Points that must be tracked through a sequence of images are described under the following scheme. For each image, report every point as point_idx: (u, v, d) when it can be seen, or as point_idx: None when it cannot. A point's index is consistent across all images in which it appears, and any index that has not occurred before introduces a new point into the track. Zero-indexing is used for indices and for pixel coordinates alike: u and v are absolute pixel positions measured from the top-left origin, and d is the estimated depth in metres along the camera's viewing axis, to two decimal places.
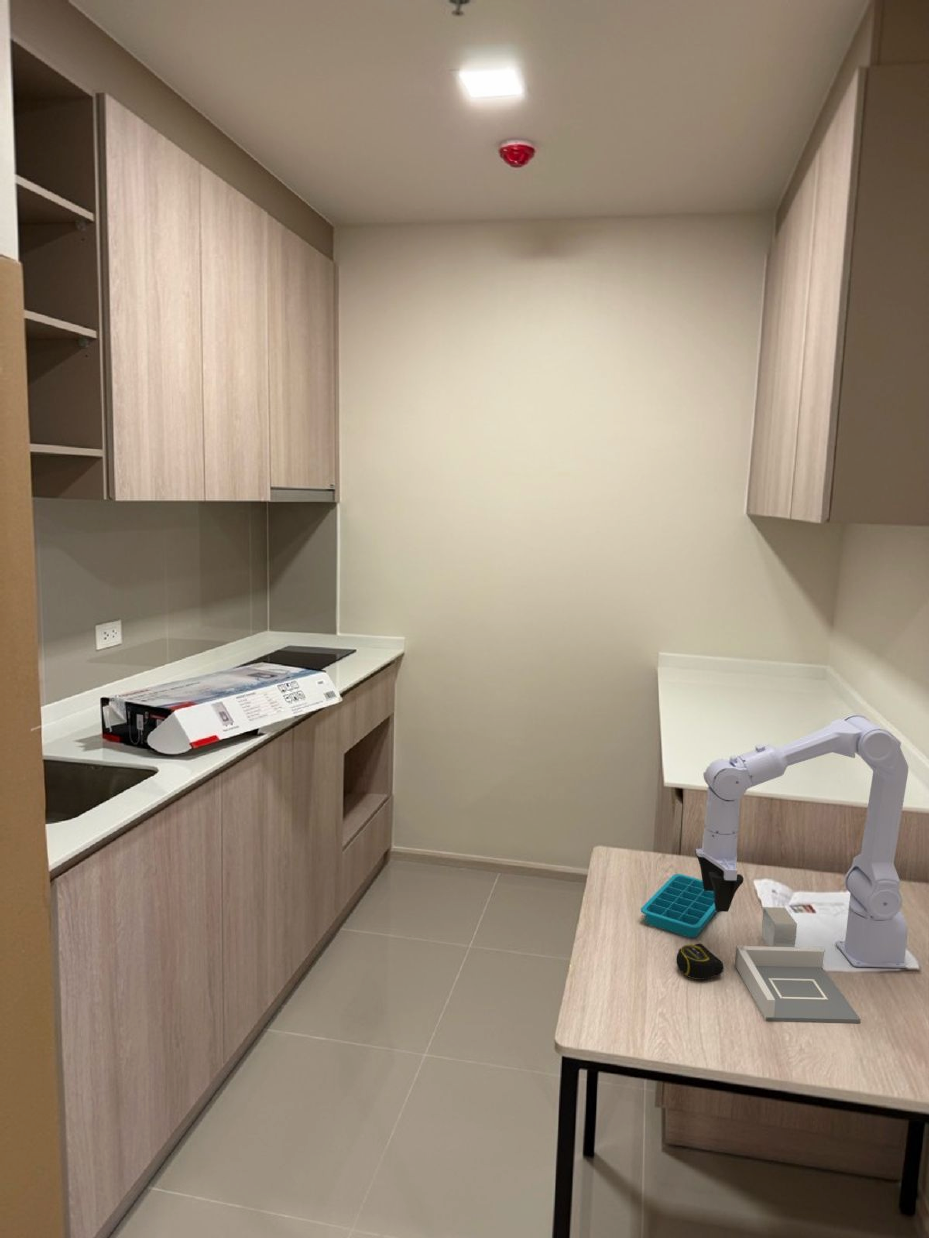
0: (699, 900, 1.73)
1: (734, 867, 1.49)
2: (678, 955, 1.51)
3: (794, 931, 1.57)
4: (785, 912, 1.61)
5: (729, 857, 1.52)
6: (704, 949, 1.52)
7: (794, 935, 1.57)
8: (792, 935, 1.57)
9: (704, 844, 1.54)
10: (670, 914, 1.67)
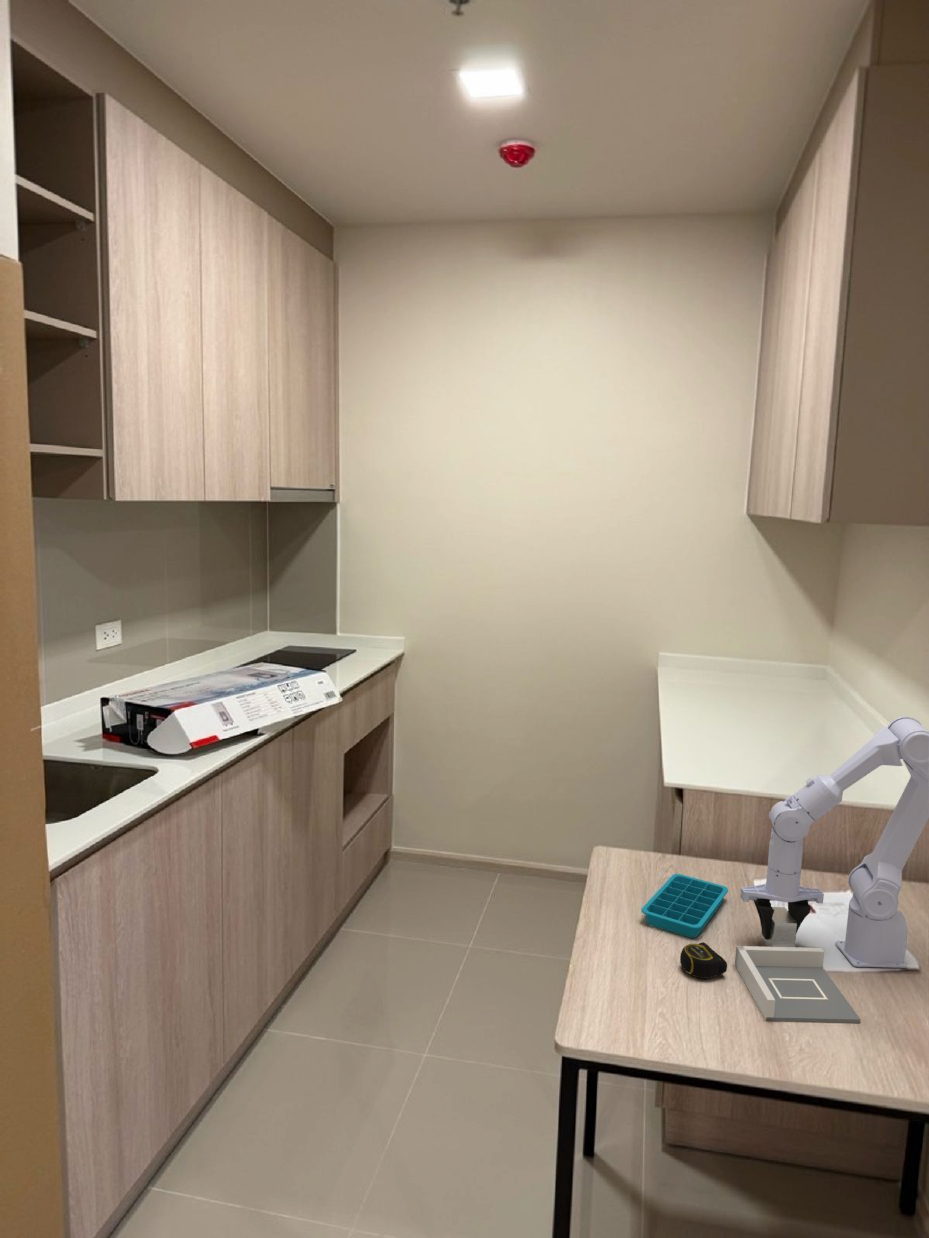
0: (699, 900, 1.73)
1: None
2: (681, 954, 1.51)
3: (794, 931, 1.57)
4: (785, 912, 1.61)
5: (769, 891, 1.58)
6: (708, 948, 1.52)
7: (794, 935, 1.57)
8: (792, 935, 1.57)
9: None
10: (671, 915, 1.67)
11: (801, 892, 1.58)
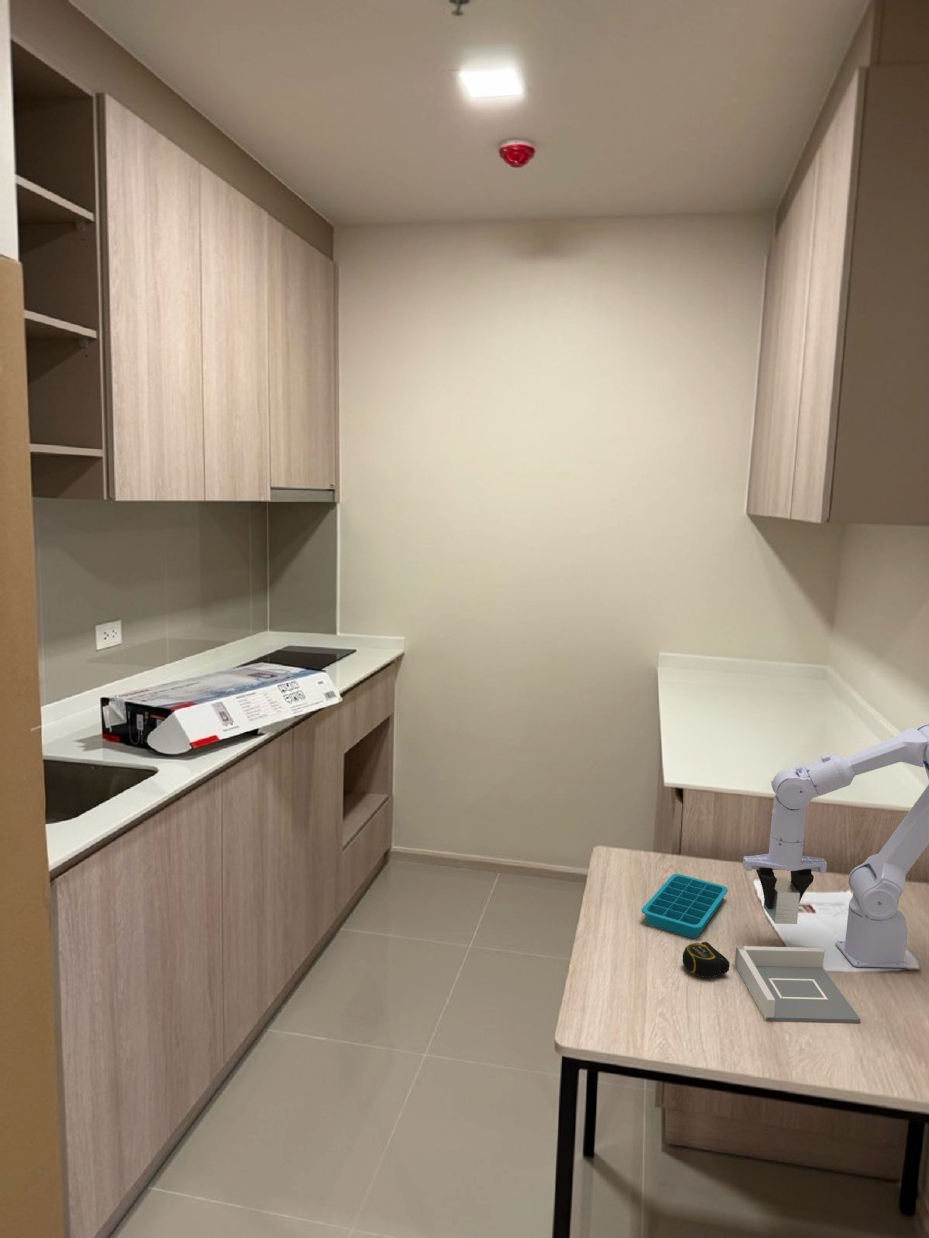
0: (699, 900, 1.73)
1: None
2: (684, 954, 1.51)
3: (797, 900, 1.56)
4: (788, 882, 1.60)
5: (772, 860, 1.57)
6: (710, 947, 1.52)
7: (797, 904, 1.56)
8: (795, 904, 1.56)
9: None
10: (671, 915, 1.67)
11: (804, 861, 1.58)
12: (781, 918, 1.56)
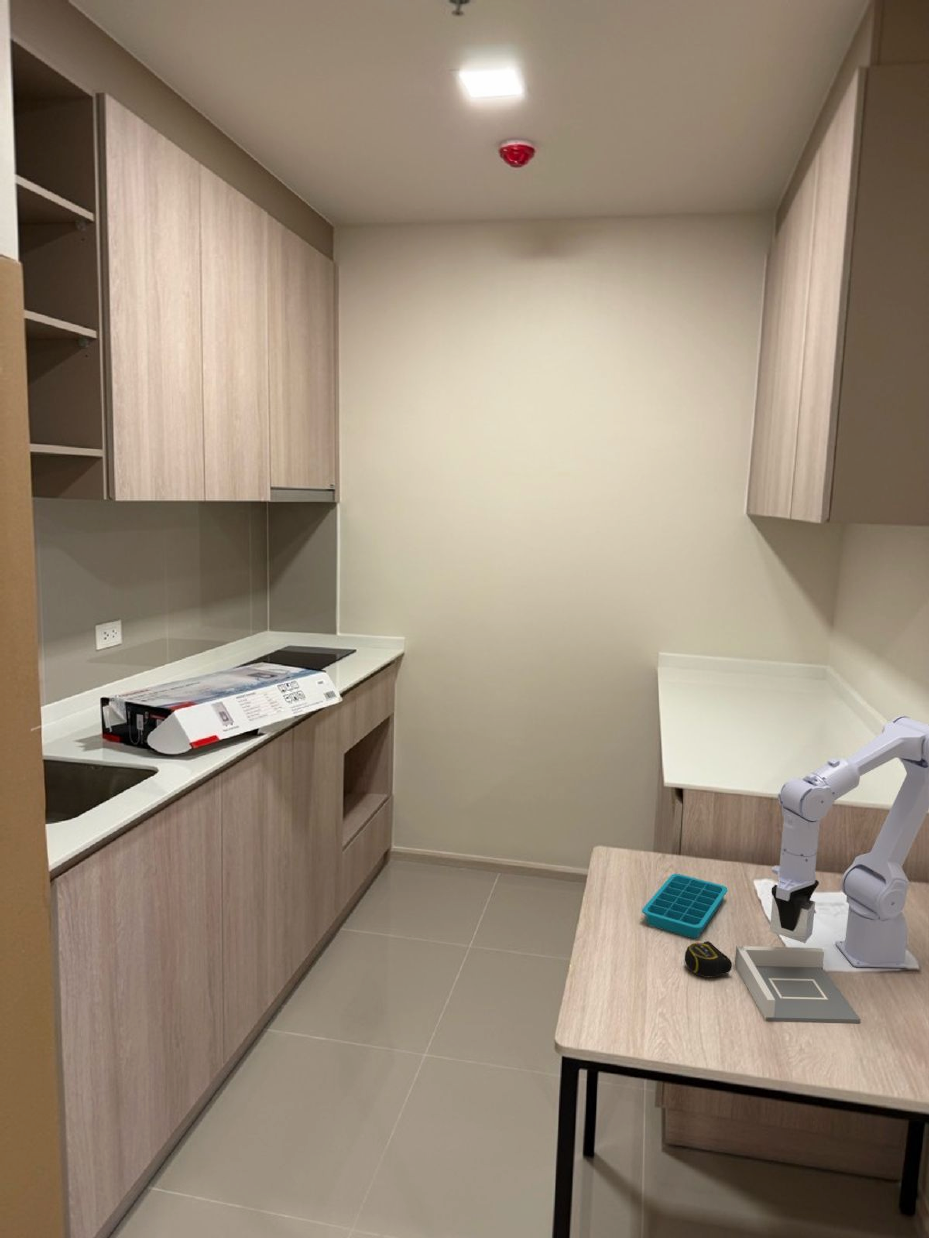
0: (699, 900, 1.73)
1: (790, 888, 1.44)
2: (686, 953, 1.51)
3: None
4: None
5: (797, 879, 1.47)
6: (712, 947, 1.53)
7: (813, 914, 1.50)
8: (813, 915, 1.50)
9: None
10: (672, 915, 1.67)
11: None
12: (807, 935, 1.48)
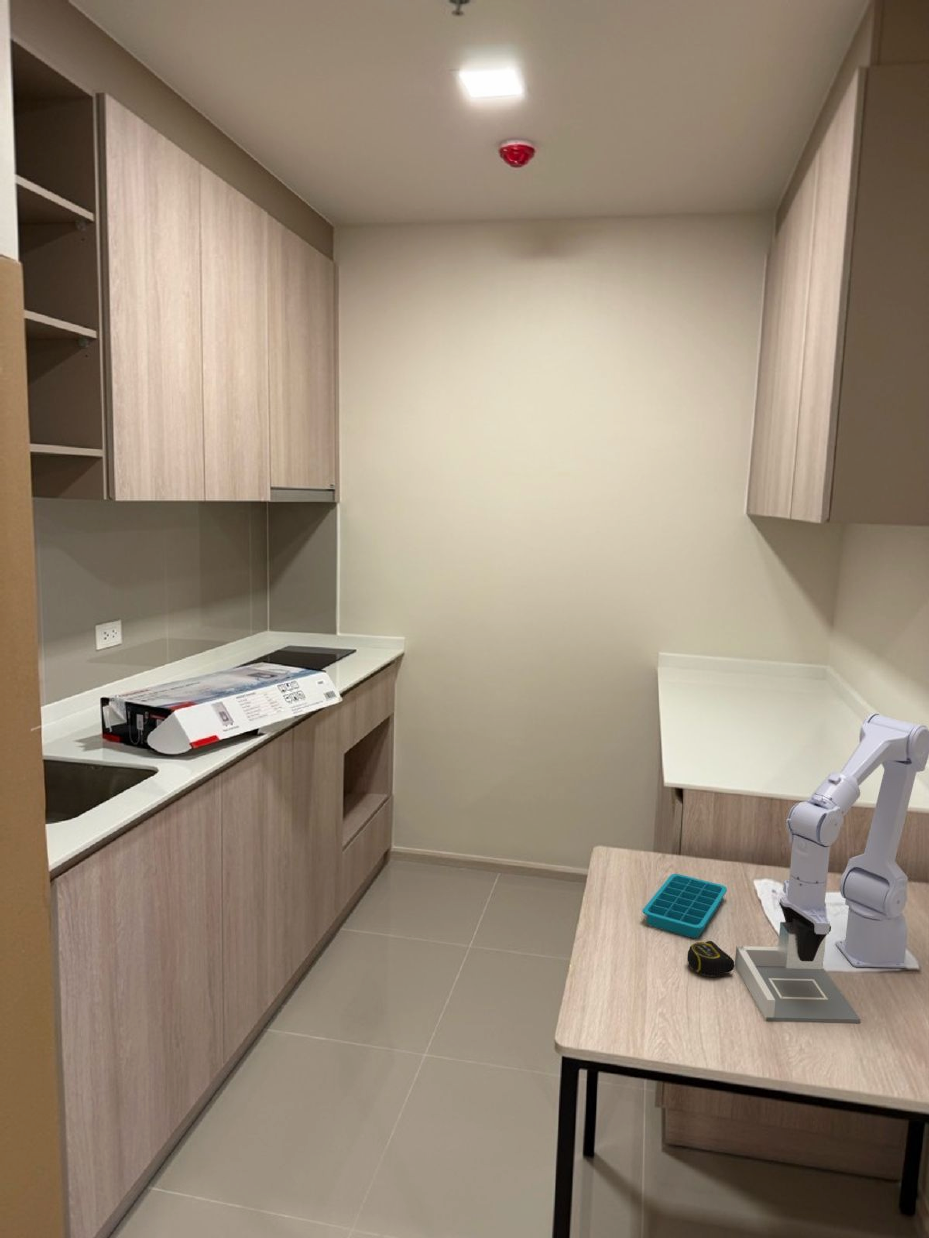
0: (698, 900, 1.74)
1: (825, 919, 1.37)
2: (689, 953, 1.52)
3: None
4: (792, 923, 1.45)
5: (818, 907, 1.40)
6: (715, 946, 1.53)
7: None
8: None
9: (790, 893, 1.42)
10: (672, 915, 1.67)
11: None
12: None
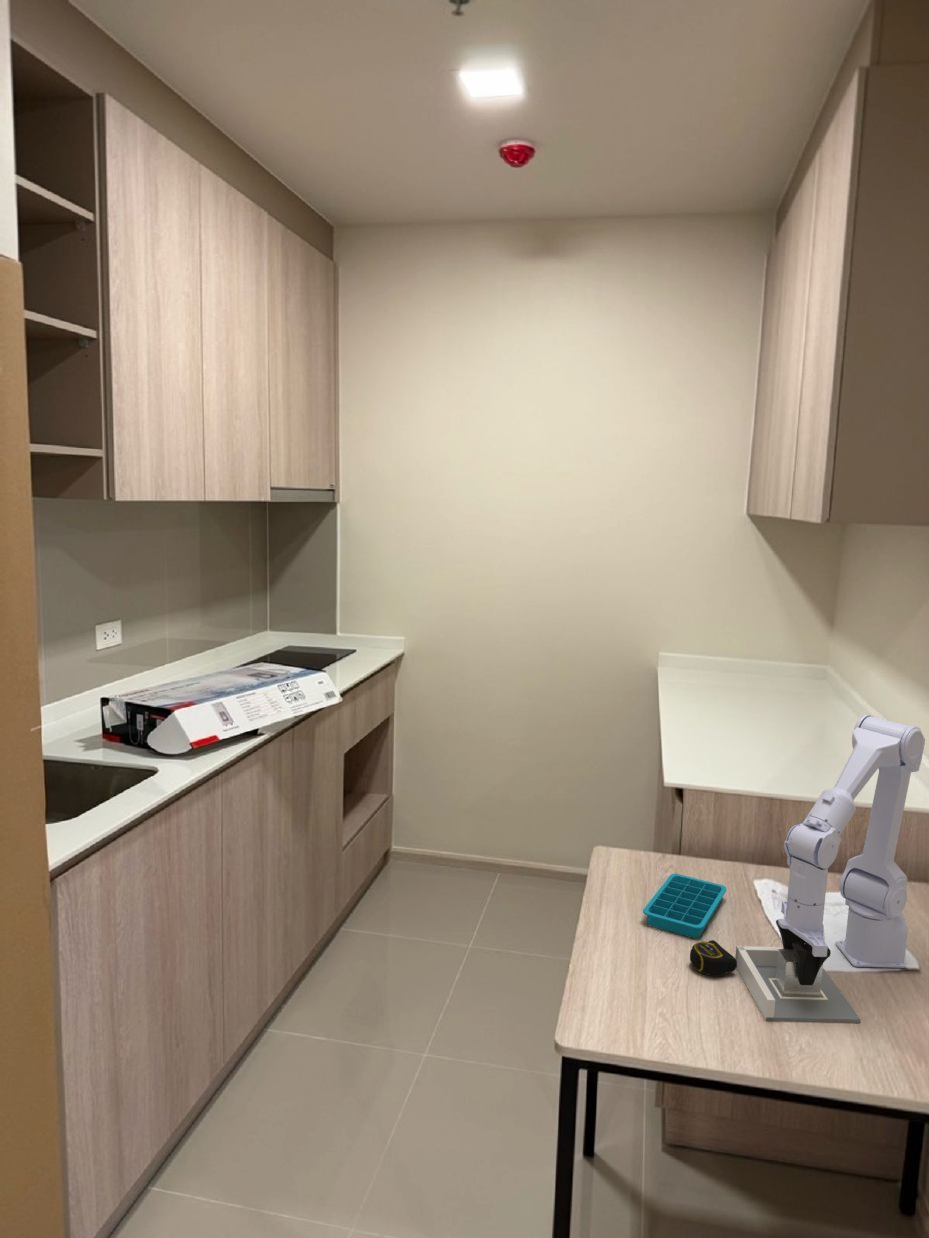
0: (698, 900, 1.74)
1: (823, 942, 1.38)
2: (691, 952, 1.52)
3: None
4: (790, 951, 1.46)
5: (816, 929, 1.41)
6: (717, 946, 1.53)
7: None
8: None
9: (788, 915, 1.43)
10: (672, 915, 1.67)
11: None
12: None
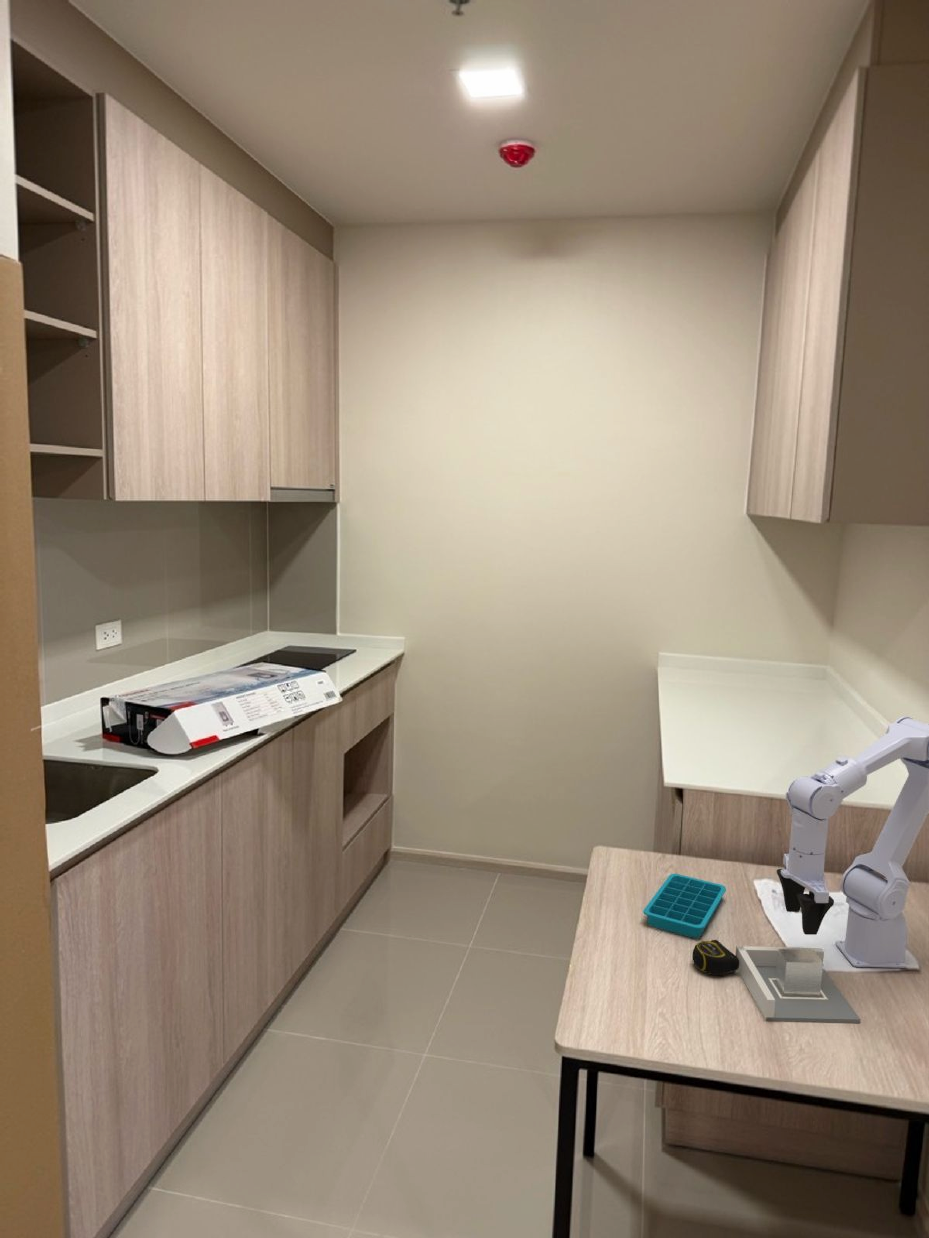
0: (698, 899, 1.74)
1: (825, 889, 1.43)
2: (694, 951, 1.52)
3: None
4: (790, 951, 1.46)
5: (817, 878, 1.46)
6: (720, 945, 1.53)
7: None
8: None
9: (790, 865, 1.48)
10: (673, 915, 1.67)
11: None
12: None
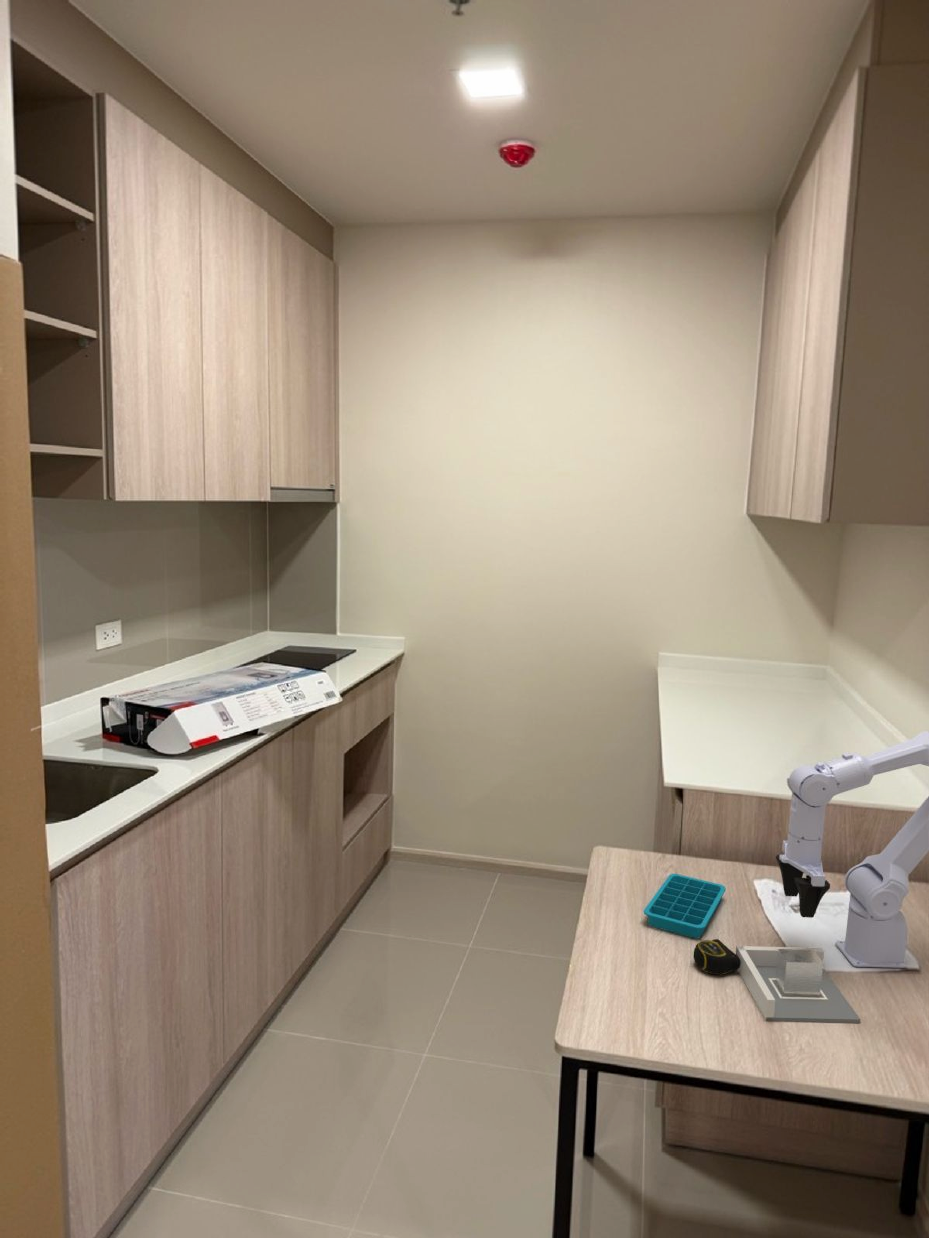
0: (698, 899, 1.74)
1: (821, 873, 1.49)
2: (695, 950, 1.52)
3: None
4: (790, 951, 1.46)
5: (814, 863, 1.52)
6: (721, 944, 1.53)
7: None
8: None
9: (788, 850, 1.54)
10: (673, 915, 1.67)
11: None
12: None
